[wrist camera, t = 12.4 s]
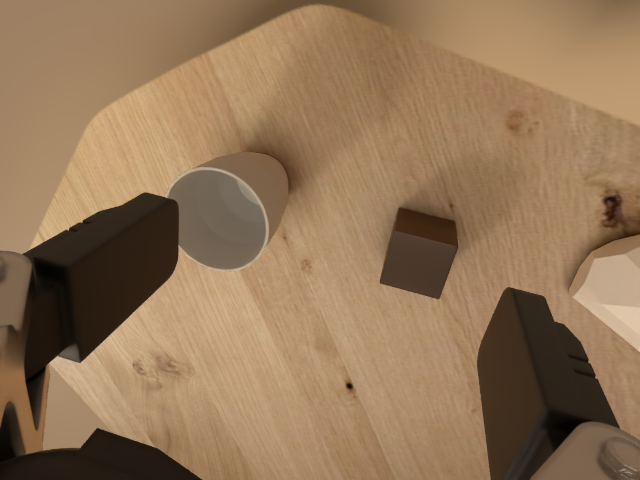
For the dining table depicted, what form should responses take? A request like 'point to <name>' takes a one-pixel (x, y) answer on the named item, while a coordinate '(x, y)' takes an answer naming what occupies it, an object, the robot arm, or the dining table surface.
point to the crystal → (612, 287)
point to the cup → (229, 209)
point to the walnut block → (419, 253)
